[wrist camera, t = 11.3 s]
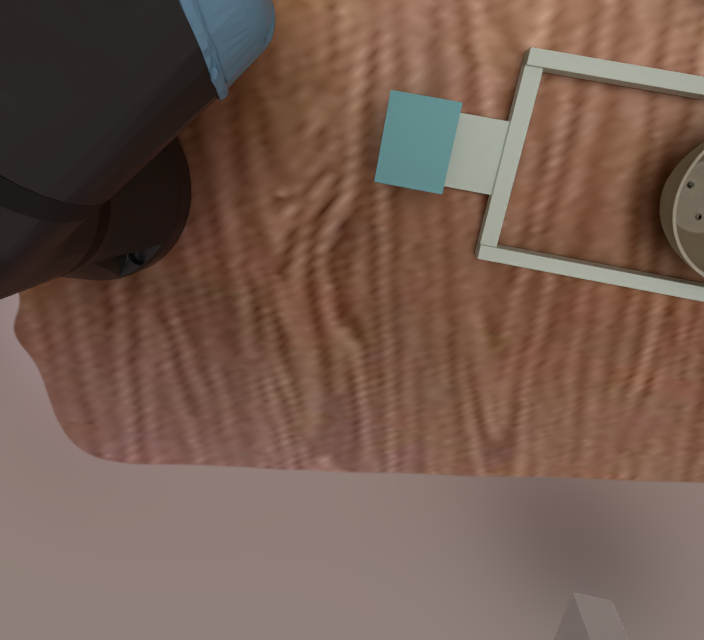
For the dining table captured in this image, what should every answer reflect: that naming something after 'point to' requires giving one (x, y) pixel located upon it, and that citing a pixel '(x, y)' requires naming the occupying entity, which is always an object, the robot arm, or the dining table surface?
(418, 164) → the frame
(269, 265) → the dining table surface
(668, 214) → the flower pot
